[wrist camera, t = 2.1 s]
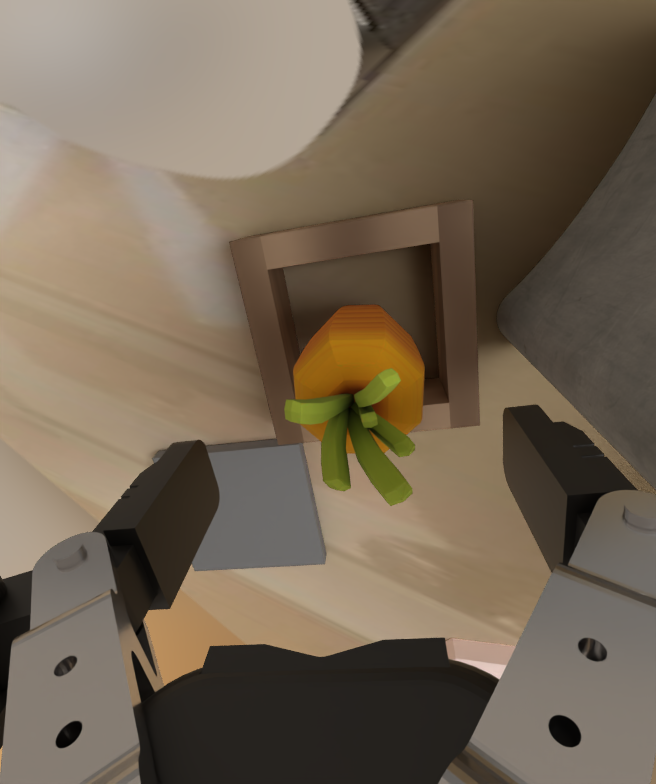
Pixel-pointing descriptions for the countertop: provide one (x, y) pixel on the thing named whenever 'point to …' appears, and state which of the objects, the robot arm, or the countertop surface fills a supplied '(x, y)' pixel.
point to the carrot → (360, 396)
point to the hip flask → (601, 305)
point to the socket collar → (356, 237)
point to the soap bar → (480, 654)
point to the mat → (261, 509)
